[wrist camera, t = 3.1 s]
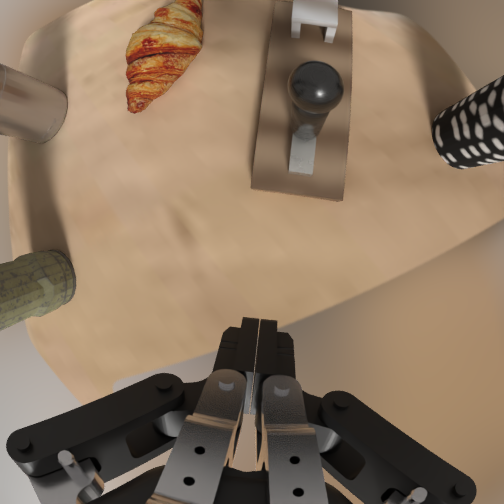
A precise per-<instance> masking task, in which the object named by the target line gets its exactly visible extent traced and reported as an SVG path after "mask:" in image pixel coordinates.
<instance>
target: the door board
mask: <svg viewBox="0 0 504 504" xmlns="http://www.w3.org/2000/svg"><path fill="white" fill-rule="evenodd" d="M313 60H316V61H322V62H325V63H328V64H330V65H331V66H333V67H334V68H335V69H336V70H337V71H338V72H339V73H340V75H341V77H342V79H343V82H344V95H343V98H342V101H341V102H340V104H339V105H338V106H337V107H336V108H334V109H333V110H331V111H330V112H329V114H328V117H327V119H326V121H325V123H324V125H323V127H322V129H321V131H320V133H319V135H318V136H317V137H316V146H315V156H314V166H313V174H312V176H311V177H309V176H302V175H295V174H288V171H289V163H290V154H291V145H292V136H293V133H292V131H291V129H290V118H291V106H292V99H291V98H290V95H289V92H288V79H289V76H290V74H291V72H292V71H293V70H294V69H295V68H296V67H297V66H298V65H300V64H301V63H304V62H307V61H313ZM351 91H352V11H349V10H344V9H339V8H338V0H294V1H293V2H287V1H275V7H274V14H273V21H272V28H271V36H270V43H269V50H268V58H267V65H266V72H265V80H264V88H263V95H262V103H261V110H260V118H259V126H258V134H257V141H256V149H255V157H254V165H253V173H252V181H251V189H253V190H258V191H266V192H274V193H282V194H290V195H297V196H304V197H311V198H318V199H325V200H331V201H343V194H344V185H345V175H346V165H347V154H348V142H349V128H350V112H351Z"/></svg>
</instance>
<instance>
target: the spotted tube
mask: <svg viewBox="0 0 504 504" xmlns="http://www.w3.org/2000/svg"><path fill="white" fill-rule="evenodd" d="M432 137H433V141H434V145H435V147H436V149H437V151H438V153H439V155H440V156H441V157H442V158H443V160H444V161H445V162H446V163H448V164H449V165H451V166H452V167H454V168H457V169H466V168H471V167H476V166H481V165H486V164H491V163H496V162H501V161H504V75H503V76H501V77H500V78H498V79H496V80H495V81H493V82H491V83H490V84H488V85H486V86H484V87H483V88H481V89H479V90H478V91H476V92H474V93H473V94H471V95H469V96H468V97H466V98H464V99H462V100H461V101H459V102H457V103H456V104H454V105H452V106H451V107H449V108H447V109H446V110H444V111H443V112H441V113H439V114H438V115H437V116H436V118H435V120H434V122H433V126H432Z"/></svg>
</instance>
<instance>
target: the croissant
mask: <svg viewBox="0 0 504 504" xmlns="http://www.w3.org/2000/svg"><path fill="white" fill-rule="evenodd" d="M201 7H202V0H176V1H175V2H174V3H172V4H169V5H168V6H165V7H162V8H158V9H157V11H155V13H154V15H155V18H154V20H152V21H151V22H150V24H148V25H145V26H142V27H141V28H139V29H138V30H137V31H136V32H135V33H133V34H132V37H131V39H130V42H129V45H128V47H127V50H126V60H127V64H128V67H127V71H126V76H127V78H128V80H129V83H130V85H128V87H127V90H126V97H127V104H128V111H130V112H131V113H134V114H135V113H137V112H141V111H142V110H145V109H146V108H147V106H148V105H149V104H150V103H151V102H152V101H153V99H156V98H158V97H159V96H161V95H163V94H164V93H165V92H166V91H167V90H168V89H169V88H170V87H171V85H172V84H173V83H174V82H175V81H176V80H177V79H178V78H179V77H180V76H181V75H182V74H183V73H184V72H185V70H186V69H187V67H188V66H189V64H190V63H191V62H192V60H193V59H194V58H195V57H196V56H197V54H198V53H199V52H200V50H201V48H202V46H201V40H202V37H203V31H202V30H201V29H200V26H201V19H202V12H201Z"/></svg>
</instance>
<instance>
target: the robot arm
mask: <svg viewBox="0 0 504 504" xmlns="http://www.w3.org/2000/svg"><path fill="white" fill-rule="evenodd" d="M66 111H67V99H66V96H65V94H64V93H63V92H62V91H60V90H58V89H56V88H54V87H52V86H50V85H48V84H46V83H44V82H41V81H39V80H37V79H35V78H33V77H30V76H28V75H26V74H24V73H21V72H19V71H16V70H14V69H12V68H10V67H7V66H5V65H3V64H0V135H5V136H10V137H14V138H19V139H23V140H28V141H33V142H37V143H44V142H46V141H48V140H50V139H51V138H52V137H53V136H54V135H55V134H56V133H57V132H58V130H59V129H60V127H61V125H62V123H63V121H64V118H65V115H66ZM258 327H259V319H257V318H248V317H243V319H242V325H241V328H237V327H229V328H228V329H227V330H226V331H224V332H223V335H222V339H221V342H220V346H219V349H218V353H217V357H216V361H215V364H214V368H213V371H212V373H211V374H210V375H209V377H207V378H206V379H204V380H202V381H199V382H193V383H183V382H182V380H181V379H180V378H179V377H177V376H175V375H173V374H169V373H160V374H155V375H153V376H151V377H149V378H147V379H144V380H142V381H140V382H137V383H135V384H133V385H131V386H128V387H126V388H124V389H122V390H119V391H117V392H115V393H112V394H110V395H108V396H105V397H103V398H100V399H98V400H96V401H93V402H91V403H88V404H86V405H83V406H81V407H78V408H76V409H74V410H71V411H68V412H66V413H63V414H61V415H58V416H55V417H52V418H50V419H47V420H44V421H42V422H39V423H36V424H33V425H30V426H27V427H24V428H22V429H19V430H16V431H14V432H13V433H12V434H11V435H10V436H9V438H8V440H7V444H6V448H7V452H8V454H9V455H10V457H11V458H12V459H13V460H14V462H15V463H16V464H17V465H18V466H19V467H20V468H21V469H22V471H23V472H24V473H25V474H26V475H27V476H28V477H29V479H30V481H31V483H32V486H33V488H34V490H35V492H36V494H37V496H38V498H39V500H40V502H41V504H353V503H352V502H351V501H349V500H348V499H347V498H346V497H345V496H344V495H343V494H342V493H341V492H340V491H338V490H337V489H336V488H334V487H333V486H332V485H330V484H328V483H326V482H325V481H324V476H323V470H322V467H323V468H324V469H325V470H326V471H327V472H328V473H330V474H331V475H332V476H333V477H334V478H335V479H336V480H337V481H338V482H340V483H341V484H342V485H343V486H344V487H345V488H346V489H348V490H349V491H350V492H351V493H352V494H354V495H355V496H356V497H357V498H358V499H360V500H361V501H362V502H363V503H364V504H471V503H472V502H473V500H474V499H475V496H476V485H475V483H474V481H473V480H472V479H471V478H470V477H469V476H467V475H466V474H464V473H463V472H461V471H459V470H458V469H456V468H455V467H453V466H452V465H450V464H449V463H447V462H446V461H444V460H443V459H441V458H440V457H438V456H437V455H435V454H434V453H432V452H430V451H429V450H428V449H426V448H425V447H424V446H422V445H421V444H419V443H418V442H416V441H415V440H413V439H412V438H411V437H409V436H408V435H406V434H405V433H403V432H402V431H401V430H399V429H398V428H396V427H395V426H394V425H392V424H391V423H390V422H388V421H386V420H385V419H384V418H383V417H381V416H380V415H379V414H377V413H376V412H374V411H373V410H372V409H371V408H369V407H368V406H366V405H365V404H364V403H363V402H361V401H360V400H358V399H357V398H356V397H355V396H353V395H351V394H350V393H347V392H344V391H332V392H329V393H327V394H326V395H325V396H324V397H323V398H320V397H317V396H314V395H310V394H308V393H306V392H304V391H303V390H302V388H301V385H300V384H299V382H298V381H297V380H296V376H295V359H294V345H293V339H292V338H291V336H290V335H289V334H288V333H284V332H277V321H276V320H266V319H261V321H260V330H259V338H258V346H257V337H258ZM256 346H257V355H256ZM255 356H256V364H255ZM254 365H255V375H254ZM253 375H254V385H253V394H252V402H251V412H250V414H253V415H255V427H256V430H255V451H256V452H255V453H256V455H255V457H256V470H255V471H252V472H242V471H240V470H236V469H234V468H232V467H233V463H234V458H235V454H236V450H237V446H238V442H239V437H240V434H241V429H242V421H243V413H245V414H249V406H250V399H251V390H252V383H253ZM171 448H173V449H172V451H171V454H170V456H169V458H168V461H167V463H166V465H163V466H159V467H156V468H153V469H151V470H148V471H146V472H145V473H143V474H141V475H140V476H138V477H136V478H134V479H132V480H131V481H129V482H127V483H125V484H123V485H121V486H120V487H118V488H116V489H114V490H112V491H110V492H108V493H106V494H104V495H102V493H103V491H104V483H105V482H107V481H110V480H112V479H114V478H116V477H118V476H120V475H122V474H124V473H126V472H128V471H130V470H132V469H134V468H136V467H138V466H140V465H142V464H144V463H146V462H148V461H149V460H151V459H153V458H155V457H157V456H158V455H160V454H162V453H164V452H166V451H167V450H169V449H171ZM101 495H102V496H101Z"/></svg>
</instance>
